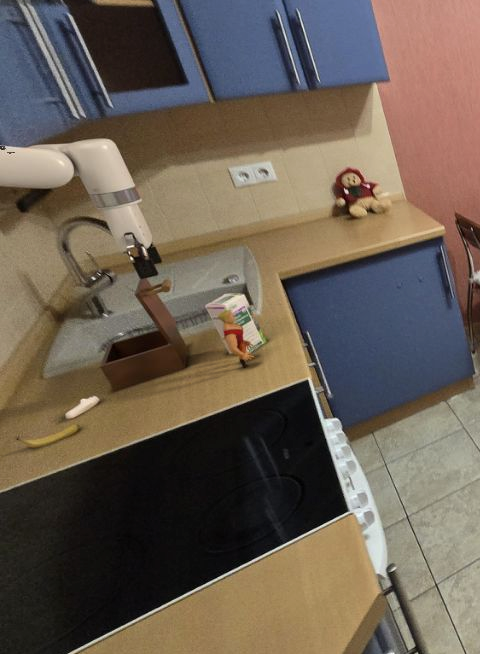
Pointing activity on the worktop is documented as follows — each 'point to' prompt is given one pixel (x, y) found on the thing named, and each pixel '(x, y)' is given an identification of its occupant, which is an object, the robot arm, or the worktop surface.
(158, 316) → the lid
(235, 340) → the action figure
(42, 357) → the worktop surface
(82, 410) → the small white plastic part
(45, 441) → the banana
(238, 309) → the syrup box
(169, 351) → the chest
